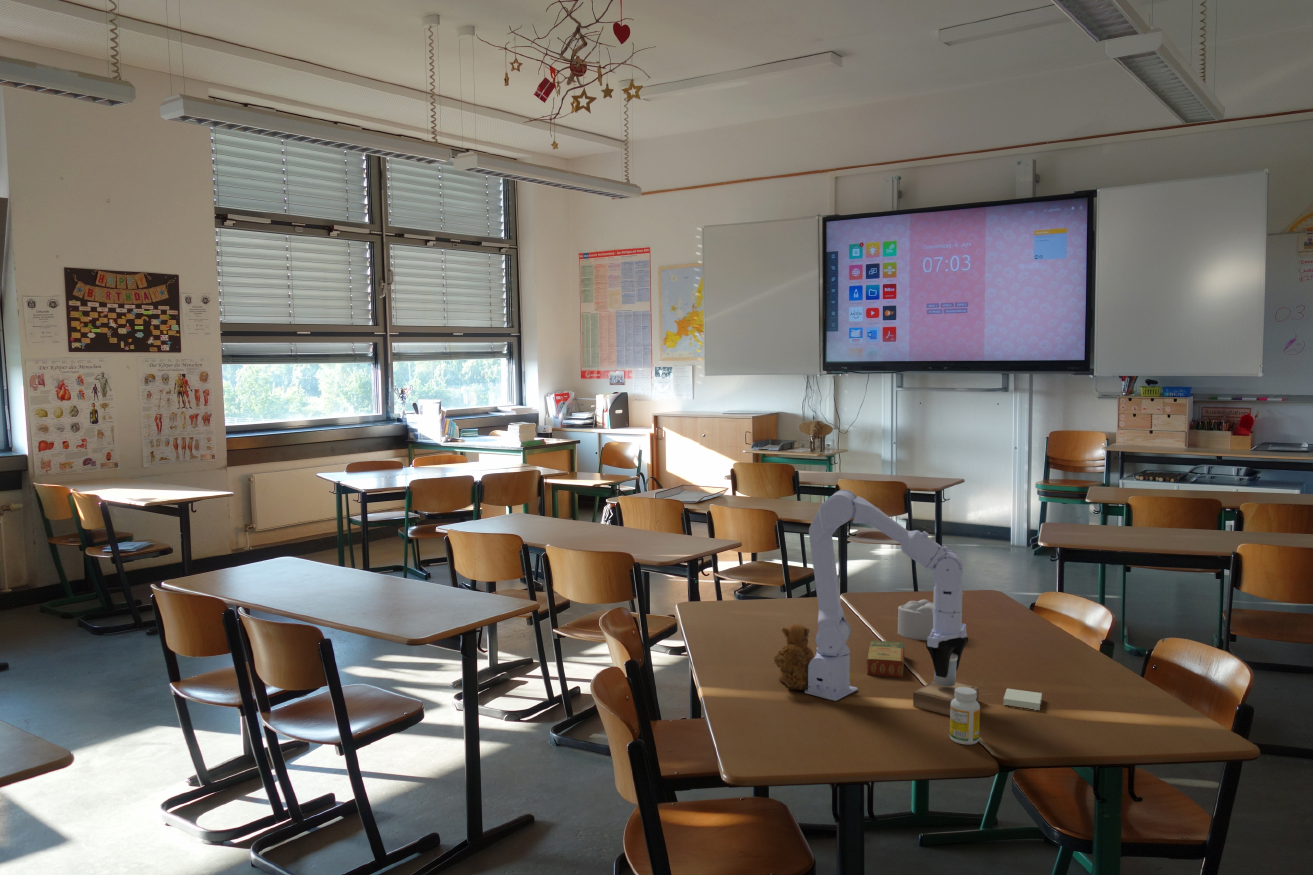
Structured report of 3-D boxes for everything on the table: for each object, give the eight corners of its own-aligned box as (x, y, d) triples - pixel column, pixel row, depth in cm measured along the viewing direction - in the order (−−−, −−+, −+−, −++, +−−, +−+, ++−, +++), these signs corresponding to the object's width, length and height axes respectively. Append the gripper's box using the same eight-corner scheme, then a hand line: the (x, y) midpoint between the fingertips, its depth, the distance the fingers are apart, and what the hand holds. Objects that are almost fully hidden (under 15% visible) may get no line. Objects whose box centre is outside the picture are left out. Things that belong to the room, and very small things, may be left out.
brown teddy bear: (824, 676, 214) (824, 620, 213) (814, 697, 201) (815, 637, 200) (781, 672, 217) (781, 617, 216) (769, 692, 204) (769, 633, 203)
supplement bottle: (956, 745, 174) (957, 695, 174) (945, 734, 180) (945, 686, 179) (984, 744, 175) (985, 694, 174) (971, 733, 180) (972, 685, 179)
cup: (949, 688, 193) (951, 660, 192) (928, 682, 196) (930, 654, 196) (959, 682, 197) (961, 654, 196) (939, 676, 200) (940, 649, 199)
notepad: (1039, 712, 192) (1039, 703, 192) (1003, 707, 195) (1003, 698, 195) (1041, 702, 198) (1041, 692, 198) (1006, 697, 201) (1006, 688, 201)
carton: (866, 675, 216) (866, 657, 215) (869, 655, 231) (869, 638, 231) (903, 678, 213) (903, 660, 213) (904, 658, 229) (904, 640, 228)
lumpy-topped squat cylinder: (949, 641, 241) (949, 609, 240) (897, 638, 245) (897, 605, 244) (947, 631, 251) (948, 599, 250) (898, 627, 255) (898, 596, 254)
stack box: (954, 716, 189) (954, 701, 189) (913, 706, 195) (913, 691, 195) (978, 700, 198) (978, 686, 198) (938, 691, 204) (938, 677, 204)
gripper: (950, 620, 187) (949, 686, 188) (980, 606, 198) (979, 668, 199) (918, 614, 192) (917, 678, 193) (948, 600, 202) (947, 662, 203)
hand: (946, 673), depth 196 cm, fingers closed on cup, 4 cm apart
